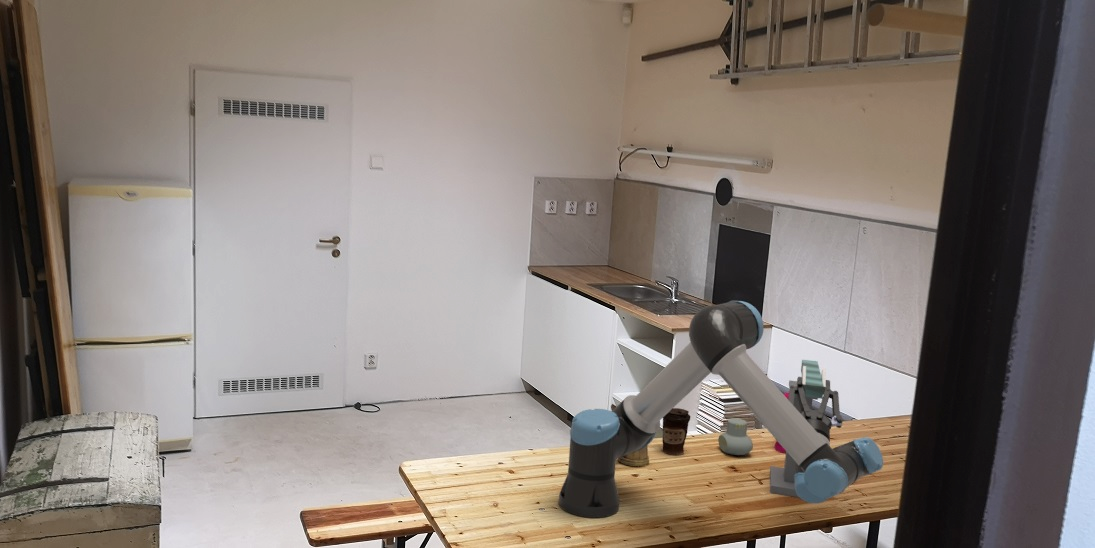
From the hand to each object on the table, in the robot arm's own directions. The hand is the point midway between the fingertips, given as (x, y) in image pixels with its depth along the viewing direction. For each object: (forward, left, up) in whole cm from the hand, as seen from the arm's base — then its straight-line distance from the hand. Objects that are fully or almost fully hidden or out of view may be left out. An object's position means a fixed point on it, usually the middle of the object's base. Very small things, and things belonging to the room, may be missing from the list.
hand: (813, 371), depth 211 cm
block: (-1, +3, -4) cm, 5 cm away
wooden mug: (-49, -2, -37) cm, 62 cm away
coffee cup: (-43, +16, -37) cm, 59 cm away
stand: (-7, +15, -37) cm, 40 cm away
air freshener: (-29, +30, -37) cm, 56 cm away
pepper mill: (-18, +44, -37) cm, 60 cm away
